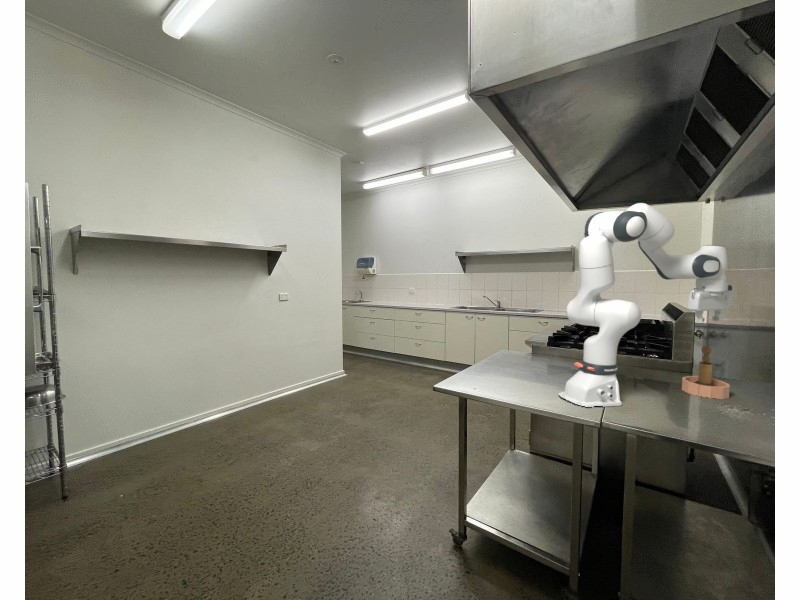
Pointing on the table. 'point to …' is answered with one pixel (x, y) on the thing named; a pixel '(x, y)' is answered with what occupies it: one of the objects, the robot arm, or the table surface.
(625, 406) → the table surface
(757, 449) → the table surface
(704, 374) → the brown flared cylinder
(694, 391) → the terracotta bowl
